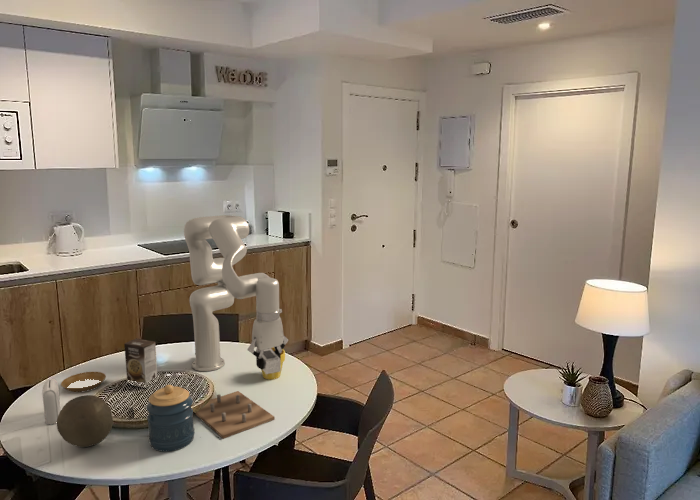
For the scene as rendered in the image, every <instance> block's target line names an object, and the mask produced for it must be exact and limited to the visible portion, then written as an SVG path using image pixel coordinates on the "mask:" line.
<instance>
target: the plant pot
mask: <svg viewBox="0 0 700 500" xmlns="http://www.w3.org/2000/svg"><path fill="white" fill-rule="evenodd" d="M271 349H272V350H273V351H275V349H274V347H273V348H271ZM285 360H286V351H285V349H284V348H283V349H282V352H281V360H280V362H281V372H275V373H270V374H266V373H265V372H264V371H263V369H262V370H261V369H260V370H261V374H262V375H261V376H262V378H264V379H265V380H277V379H279V378H280V377H281V375H282V368H283V364H284V362H285Z"/></svg>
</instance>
